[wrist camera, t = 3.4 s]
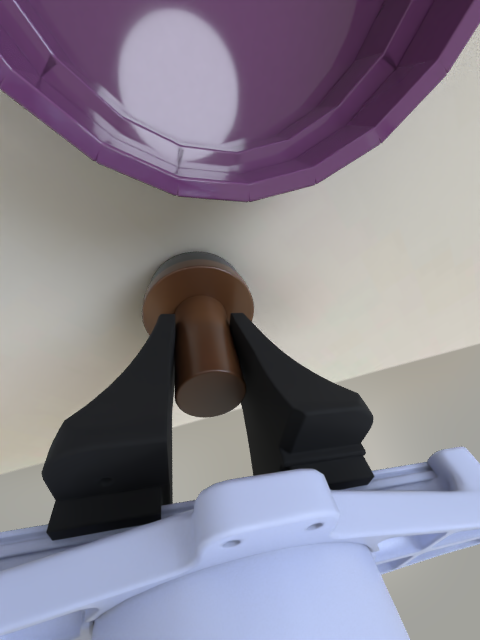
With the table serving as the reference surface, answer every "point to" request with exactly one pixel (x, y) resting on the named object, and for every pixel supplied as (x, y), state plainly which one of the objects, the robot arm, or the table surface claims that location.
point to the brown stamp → (201, 329)
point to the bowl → (228, 83)
